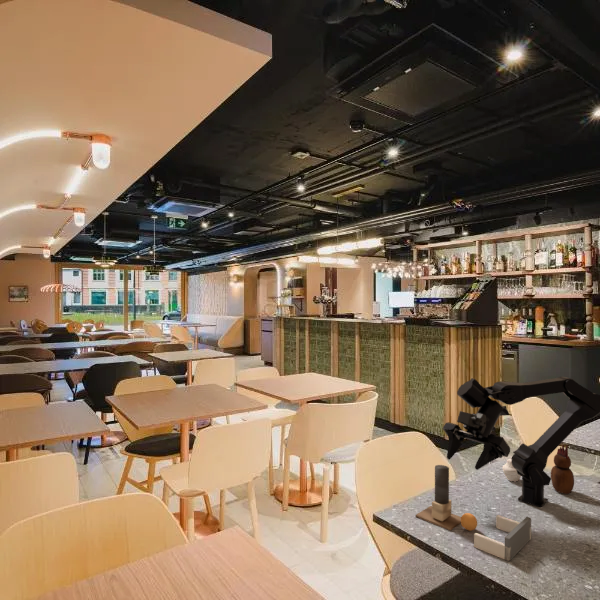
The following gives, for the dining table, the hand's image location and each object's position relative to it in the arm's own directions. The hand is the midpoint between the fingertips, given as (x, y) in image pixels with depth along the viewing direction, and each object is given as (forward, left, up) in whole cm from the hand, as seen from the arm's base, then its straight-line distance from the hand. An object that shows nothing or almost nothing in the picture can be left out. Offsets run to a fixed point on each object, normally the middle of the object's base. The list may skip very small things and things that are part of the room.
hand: (461, 463), depth 121 cm
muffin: (-34, +1, -14) cm, 37 cm away
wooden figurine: (-36, +15, -14) cm, 42 cm away
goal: (+8, +14, -13) cm, 21 cm away
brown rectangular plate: (+8, -2, -13) cm, 16 cm away
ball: (+8, +6, -11) cm, 15 cm away
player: (+8, -2, -13) cm, 16 cm away
